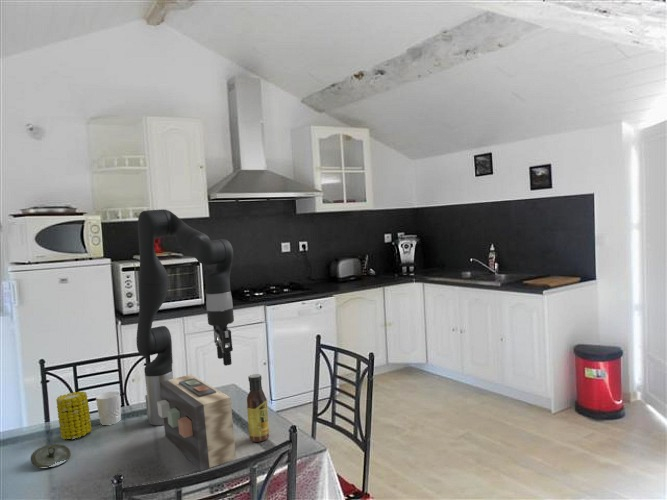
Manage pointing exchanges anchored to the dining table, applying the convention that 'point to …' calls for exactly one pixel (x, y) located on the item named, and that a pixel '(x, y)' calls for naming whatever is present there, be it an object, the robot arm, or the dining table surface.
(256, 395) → the sauce bottle
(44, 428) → the dining table surface
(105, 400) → the white cup
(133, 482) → the dining table surface
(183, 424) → the terracotta key
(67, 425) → the food
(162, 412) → the ivory key
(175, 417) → the sage key
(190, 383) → the keypad
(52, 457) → the lid
